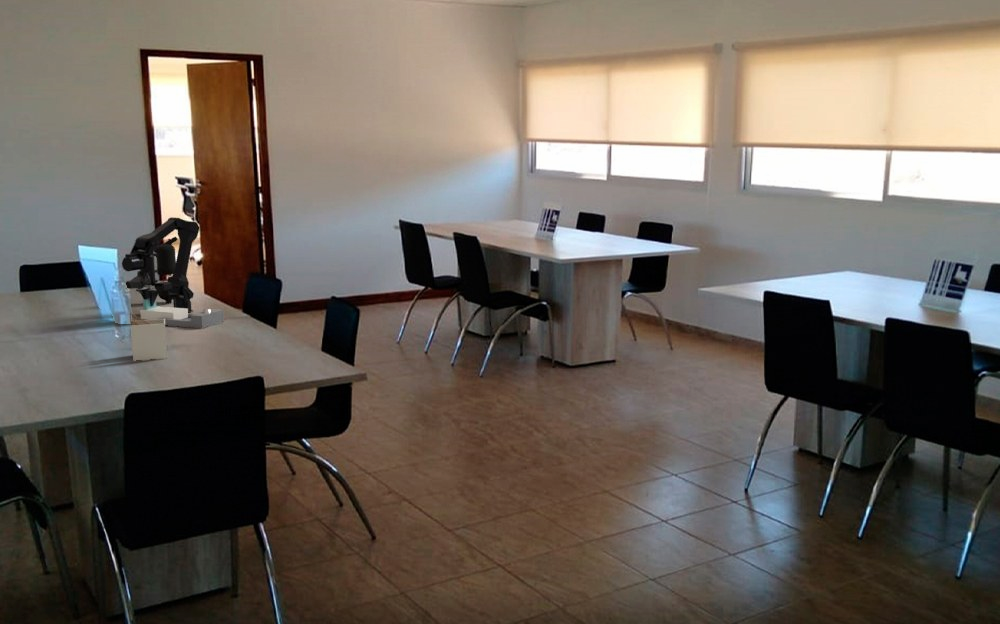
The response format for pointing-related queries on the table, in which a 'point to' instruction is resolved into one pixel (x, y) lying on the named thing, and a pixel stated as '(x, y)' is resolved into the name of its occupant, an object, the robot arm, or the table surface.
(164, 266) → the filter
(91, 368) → the table surface
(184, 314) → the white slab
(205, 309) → the release plunger
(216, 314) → the filter housing
